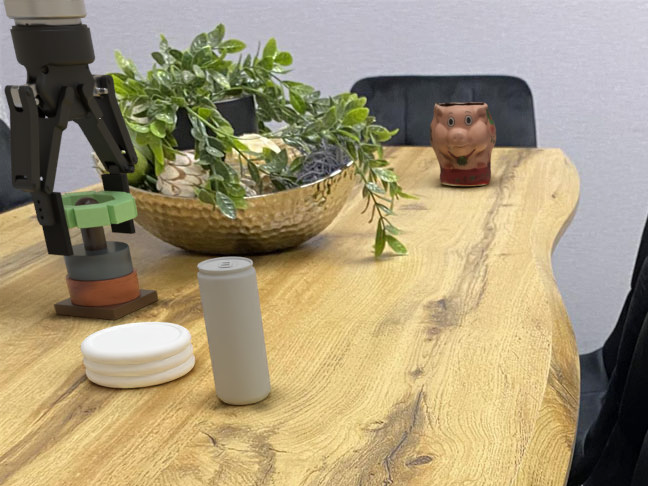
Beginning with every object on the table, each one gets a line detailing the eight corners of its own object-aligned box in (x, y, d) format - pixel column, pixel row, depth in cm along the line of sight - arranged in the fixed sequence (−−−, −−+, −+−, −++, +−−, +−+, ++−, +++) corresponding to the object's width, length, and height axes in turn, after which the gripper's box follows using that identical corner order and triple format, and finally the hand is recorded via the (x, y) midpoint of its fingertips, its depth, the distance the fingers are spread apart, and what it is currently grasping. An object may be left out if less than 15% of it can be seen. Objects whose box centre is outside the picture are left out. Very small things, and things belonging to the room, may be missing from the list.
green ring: (19, 224, 104) (14, 205, 103) (81, 206, 113) (77, 188, 112) (96, 231, 102) (93, 211, 101) (154, 211, 110) (151, 193, 109)
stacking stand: (55, 314, 110) (29, 202, 104) (101, 295, 116) (79, 188, 110) (115, 320, 107) (91, 205, 101) (158, 300, 114) (138, 191, 108)
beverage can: (214, 408, 84) (192, 272, 79) (219, 388, 88) (198, 258, 83) (271, 404, 85) (252, 269, 79) (272, 384, 89) (256, 254, 84)
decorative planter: (430, 173, 189) (427, 97, 182) (492, 172, 189) (491, 95, 183) (432, 193, 171) (428, 108, 165) (501, 191, 172) (500, 107, 165)
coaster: (81, 395, 87) (73, 358, 86) (92, 359, 96) (84, 325, 94) (196, 383, 90) (190, 347, 88) (196, 349, 98) (190, 316, 97)
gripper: (-4, 27, 87) (51, 271, 98) (148, 18, 106) (181, 223, 117) (-70, 26, 89) (-9, 265, 100) (91, 18, 108) (128, 219, 119)
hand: (93, 243), depth 108 cm, fingers closed on green ring, 10 cm apart
